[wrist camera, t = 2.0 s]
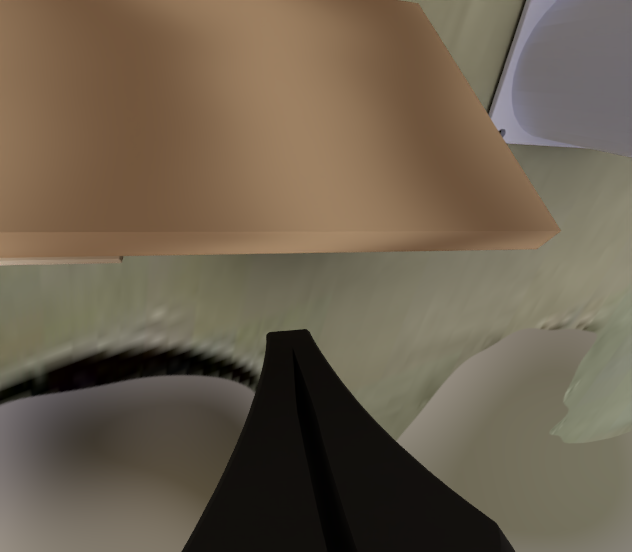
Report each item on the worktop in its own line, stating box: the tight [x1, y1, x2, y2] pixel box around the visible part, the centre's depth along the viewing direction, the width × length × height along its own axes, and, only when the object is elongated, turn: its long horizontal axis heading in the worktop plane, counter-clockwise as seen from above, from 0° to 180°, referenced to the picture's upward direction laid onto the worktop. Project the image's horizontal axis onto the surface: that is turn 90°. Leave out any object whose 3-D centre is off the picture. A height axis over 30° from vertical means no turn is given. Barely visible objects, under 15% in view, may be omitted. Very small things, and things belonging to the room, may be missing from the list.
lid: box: [0, 0, 561, 265], centre depth 7 cm, size 18×10×1 cm
